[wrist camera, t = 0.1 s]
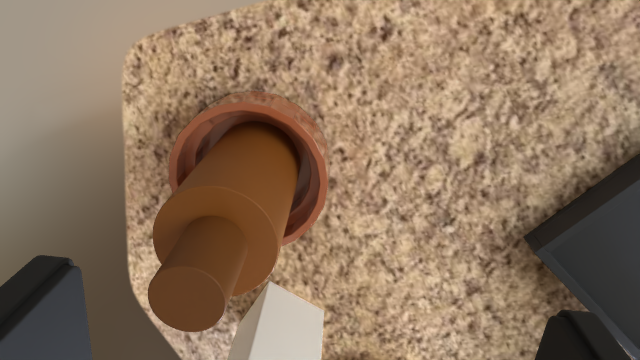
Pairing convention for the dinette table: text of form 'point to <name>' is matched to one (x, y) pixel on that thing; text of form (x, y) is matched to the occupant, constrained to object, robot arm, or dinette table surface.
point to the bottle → (223, 226)
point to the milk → (279, 328)
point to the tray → (600, 251)
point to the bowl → (272, 111)
